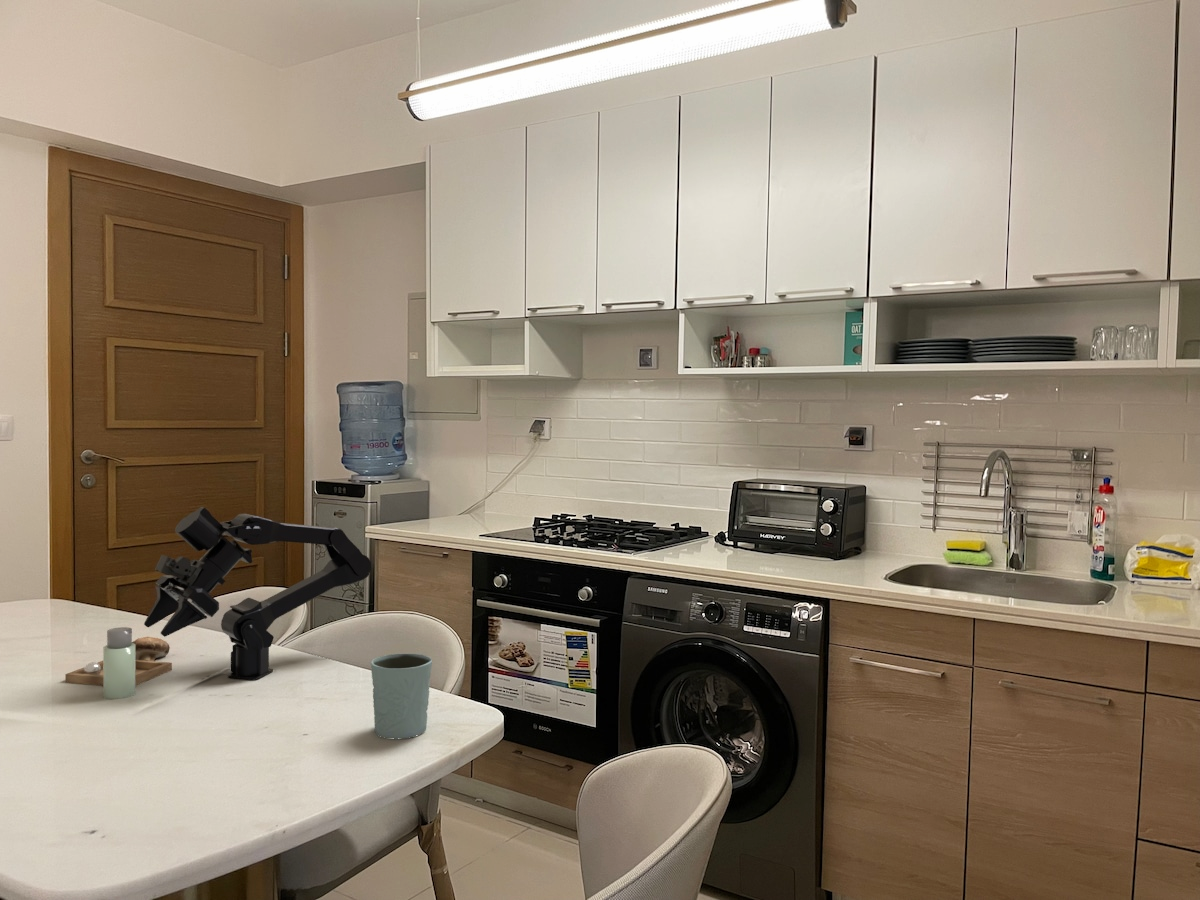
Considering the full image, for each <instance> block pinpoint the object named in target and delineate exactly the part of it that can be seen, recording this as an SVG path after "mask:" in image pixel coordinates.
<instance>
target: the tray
mask: <svg viewBox="0 0 1200 900" xmlns="http://www.w3.org/2000/svg"><path fill="white" fill-rule="evenodd" d="M97 663H98V664H99V665H100V666H101V668H102V671H101V673H100V675H91V674H84V668H85V667H86V666H84V667H82V668H79V669H76V670H73V671H71V672H68V673H65V683H71V684H82V685H94V686H103V660H100V661H98V662H97ZM172 670H173V663H172V662H168V661H166V662H165V661H155V660H154V661H145V660H135V687H136V686H137V685H141V684H142V683H145V682H147V681H150V680H152V679H155V678H157V677H160V676H162V675H164V674H167V673H169V672H171V671H172Z"/></svg>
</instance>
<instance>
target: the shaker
mask: <svg viewBox="0 0 1200 900" xmlns="http://www.w3.org/2000/svg"><path fill="white" fill-rule="evenodd" d="M132 629H133V628H131V627H127V626H125V627H123V626H121V627H113V628H109V629H107V630H106V644H105V645H104V646H103V651H102V652H103V655H102V656H103V657H102V659H103V660H102V661H103V685H102V687H103V688H102V689H103V691H102V692H103V693H102V694H103V698H104V699H106V700H119V699H126V698H129V697H132V696H134V695H136V686H135V644H134V643H132V642H133V638H132V637H133V631H132Z"/></svg>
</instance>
